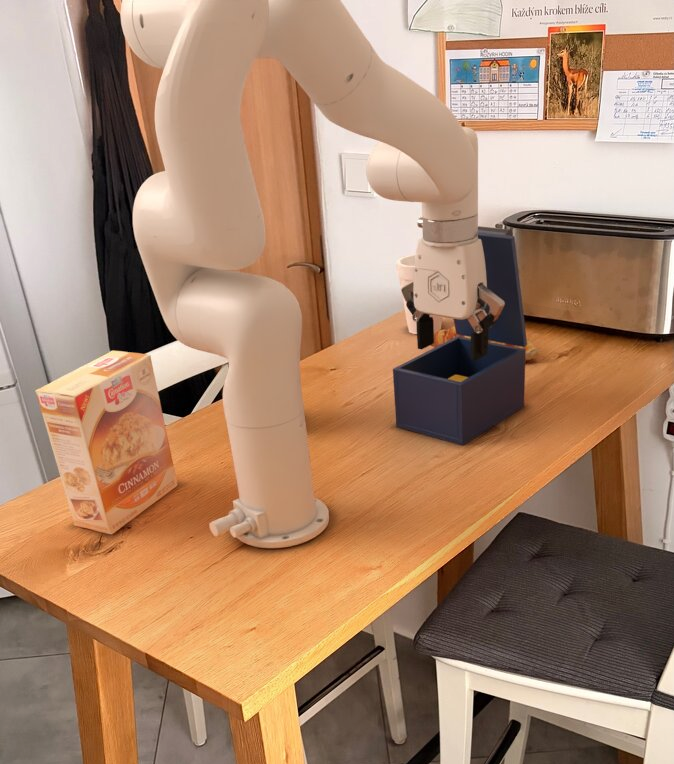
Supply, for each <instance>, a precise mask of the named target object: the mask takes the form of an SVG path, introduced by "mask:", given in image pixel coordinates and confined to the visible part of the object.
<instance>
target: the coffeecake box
mask: <svg viewBox="0 0 674 764" xmlns="http://www.w3.org/2000/svg"><path fill="white" fill-rule="evenodd" d="M35 394H36V396H37V401H38V404H39V408H40V411H41V414H42V415H41V416H42V418H43V421H44V425H45V428H46V431H47V435H48V438H49V442H50V445H51V449H52V452H53V456H54V459H55V464H56V466H57V470H58V473H59V476H60V480H61V483H62V486H63V490H64V494H65V497H66V501H67V505H68V507H69V511H70V515H71V518H72V521H73V525H74V526H75V527H78V528H82V529H83V528H84V529H89V530H92V531H95V532H98V533H103V534H107V535H111V536H112V535H113V534H116V532H117V531H119V530H120V529H121V528H123V527H124V526H126V525H127V524H128V523H130V522H131V521H132V520H133V519H135V518H136V517H138V516H139V515H140V514H142V513H143V512H144V511H146V510H147V509H148V508H150V507H151V506H152V505H153V504H155V503H156V502H158V501H159V500H160V499H162V498H163V497H164V496H165V495H167V494H168V493H170V492H171V491H173V490H174V489H175V488H176V487H178V486H179V483H178V479H177V475H176V469H175V466H174V462H173V457H172V452H171V451H172V450H171V447H170V442H169V438H168V433H167V429H166V424H165V418H164V413H163V409H162V404H161V399H160V395H159V390H158V386H157V380H156V375H155V371H154V367H153V362H152V356H151V355H150V354H148V353H147V354H146V353H140V352H133V351H132V352H130V351H129V352H128V351H122V350H114V349H112V350H111V351H109V352H107V353H105V354H104V355H102V356H100V357H98V358H96V359H94V360H92V361H89V362H88V363H86V364H83V365H82V366H80V367H78V368H76V369H74V370H72V371H71V372H70V371H69V372H68V373H67V374H64V375H63V376H61V377H59V378H57V379H55V380H53V381H51V382H49V383H47V384H45V385H44V386H41V387H39V388H37V389H35Z"/></svg>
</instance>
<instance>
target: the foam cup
mask: <svg viewBox="0 0 674 764" xmlns="http://www.w3.org/2000/svg"><path fill="white" fill-rule="evenodd" d="M415 256H416V253H415V254H409V255H406V256H403V257H400V258H399V259H397V260H396V274H397V278H398V280H399V285H400V291H401V289H402V288H403V287H405V286H406V285H408V284H410V283H412V282H414V265H415ZM401 296H402V303H403V309H404V313H405V318H406V325H407V328H408V329H407V330H408V332H409V333H410V334H413V335H417V324H416V322H414V321H413V319H412V316H413V315H412V314H411V312H410V311H409V309H408V308H407V306H406V303H407V302H406V301H405V299H404V296H403V294H402V291H401ZM429 317H433V323H434V333H436V332H437V331H439V330H442V325H443V324H442V323H443V317H441V316H435V315H430V316H429Z"/></svg>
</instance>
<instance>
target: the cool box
mask: <svg viewBox="0 0 674 764" xmlns="http://www.w3.org/2000/svg"><path fill="white" fill-rule="evenodd" d="M455 374H456V375H460V376H465V377H469V378H467V379H465V380H463V381H462V382H458V381H454V380H449V379H448V378H450V377H452V376H454V375H455ZM392 379H393V394H394V411H395V412H394V413H395V426H396V428H400V429H403V430H406V431H410V432H413V433H416V434H420V435H424V436H428V437H431V438H434V439H439V440H443V441H445V442H449V443H453V444H456V445H460V446H465V445H466V444H468V443H469V442H471V441H472V440H473V439H475V438H477V437H479V436H480V435H482V434H483V433H485V432H487V431H488V430H490V429H491V428H493V427H495V426H496V425H498V424H499V423H501V422H503V421H504V420H506V419H508V418H509V417H510V416H512V415H514V414H516V413H517V412H519V411H520V410H522V409H523V408H525V392H526V391H525V390H526V389H525V387H526V385H525V384H526V360H525V349H523V348H518V347H513V346H507V345H502V344H497V343H492V342H488V351H487V355H486V356H484V357H482V358H480V359H478V360H476V361H475V360H472V359H471V338H465V337H460V336H457V337H455V338H453V339H451V340H449V341H447V342H445V343H443V344H441V345H439V346H437V347H435V348H434V347H432V348H431V349H429V350H428V351H425V352H423V353H421V354H419V355H418V356H415V357H414V358H412V359H410V360H408V361H405V362H403V363H402V364H400V365H398V366H396V367H394V368H392Z"/></svg>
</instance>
